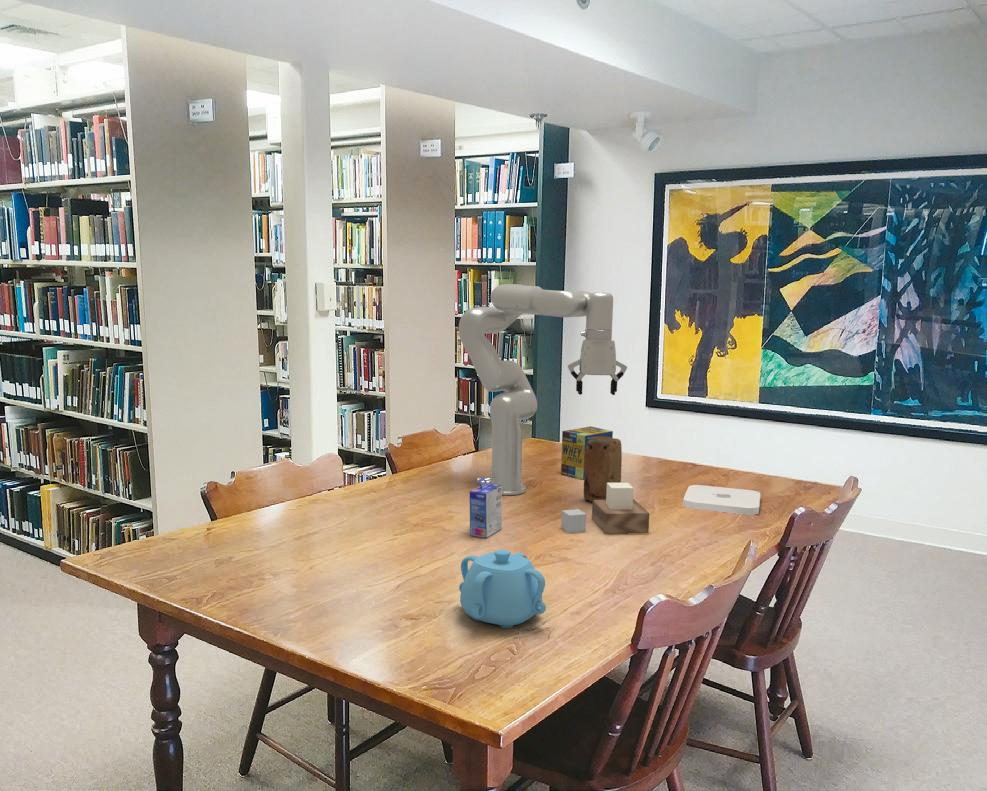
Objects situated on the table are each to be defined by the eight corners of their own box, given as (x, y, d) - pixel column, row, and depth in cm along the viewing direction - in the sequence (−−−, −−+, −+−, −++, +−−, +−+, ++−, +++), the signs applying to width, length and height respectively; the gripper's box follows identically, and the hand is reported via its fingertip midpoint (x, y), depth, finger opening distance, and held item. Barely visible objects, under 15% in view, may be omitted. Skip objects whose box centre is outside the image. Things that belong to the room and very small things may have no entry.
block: (622, 502, 251) (625, 438, 248) (609, 507, 245) (612, 442, 242) (592, 496, 258) (594, 433, 255) (578, 501, 252) (581, 437, 249)
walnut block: (605, 535, 219) (605, 513, 219) (591, 520, 233) (592, 499, 232) (648, 534, 221) (649, 513, 220) (632, 519, 235) (633, 499, 234)
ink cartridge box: (484, 525, 225) (485, 474, 223) (502, 528, 223) (503, 476, 221) (467, 535, 216) (468, 481, 214) (486, 538, 214) (488, 484, 212)
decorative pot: (463, 635, 156) (464, 566, 154) (457, 601, 172) (458, 538, 170) (547, 632, 158) (549, 565, 156) (534, 599, 174) (536, 537, 172)
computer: (758, 517, 239) (759, 508, 239) (681, 509, 247) (682, 500, 246) (760, 499, 260) (760, 491, 260) (689, 492, 267) (689, 483, 267)
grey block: (568, 533, 220) (569, 515, 219) (561, 528, 225) (561, 510, 224) (585, 532, 221) (586, 514, 221) (577, 526, 226) (578, 509, 225)
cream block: (610, 509, 223) (611, 488, 222) (605, 503, 229) (606, 482, 228) (632, 509, 223) (633, 488, 222) (627, 503, 229) (628, 482, 228)
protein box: (560, 474, 286) (561, 430, 284) (589, 468, 296) (590, 426, 294) (582, 480, 278) (584, 435, 276) (611, 473, 289) (613, 430, 286)
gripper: (571, 336, 233) (568, 395, 235) (631, 337, 234) (628, 396, 236) (566, 334, 240) (564, 392, 243) (625, 335, 241) (622, 392, 244)
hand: (596, 394), depth 239 cm, fingers open, 9 cm apart
